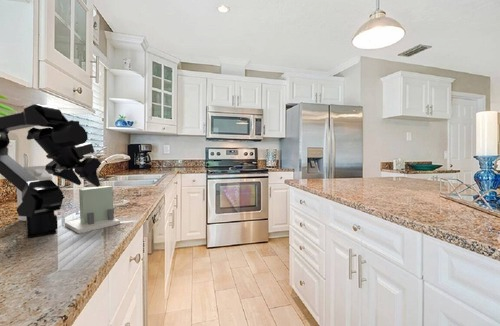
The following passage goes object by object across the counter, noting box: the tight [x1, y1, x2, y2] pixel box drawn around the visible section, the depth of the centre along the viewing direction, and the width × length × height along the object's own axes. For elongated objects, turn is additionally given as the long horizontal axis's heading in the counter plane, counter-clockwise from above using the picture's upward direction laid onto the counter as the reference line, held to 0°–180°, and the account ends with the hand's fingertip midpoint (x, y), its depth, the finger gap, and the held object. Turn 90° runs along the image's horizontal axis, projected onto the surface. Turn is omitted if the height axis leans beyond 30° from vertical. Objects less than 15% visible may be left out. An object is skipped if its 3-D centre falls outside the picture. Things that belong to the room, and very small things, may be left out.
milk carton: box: [16, 165, 53, 222], centre depth 88 cm, size 7×7×19 cm
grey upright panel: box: [78, 185, 115, 224], centre depth 82 cm, size 9×3×11 cm, turn 143°
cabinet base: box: [64, 208, 121, 234], centre depth 81 cm, size 12×12×5 cm
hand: (89, 185), depth 82 cm, fingers open, 9 cm apart
